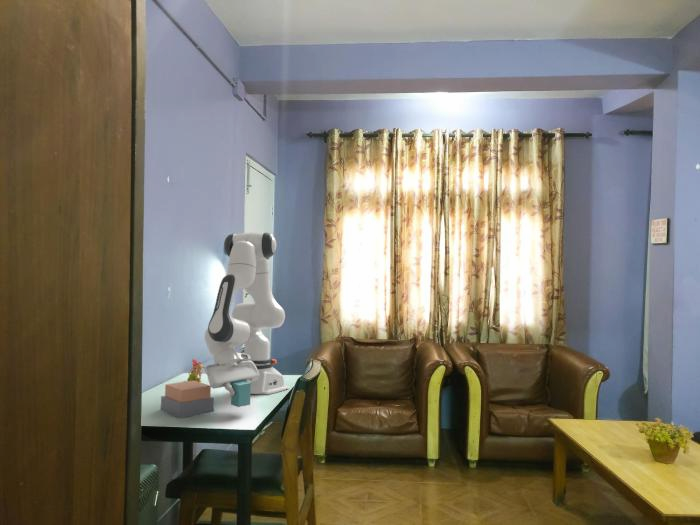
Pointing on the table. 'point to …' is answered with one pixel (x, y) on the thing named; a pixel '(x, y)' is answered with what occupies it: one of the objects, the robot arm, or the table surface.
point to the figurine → (198, 371)
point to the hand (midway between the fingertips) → (241, 392)
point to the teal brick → (241, 393)
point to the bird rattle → (192, 375)
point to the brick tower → (187, 399)
